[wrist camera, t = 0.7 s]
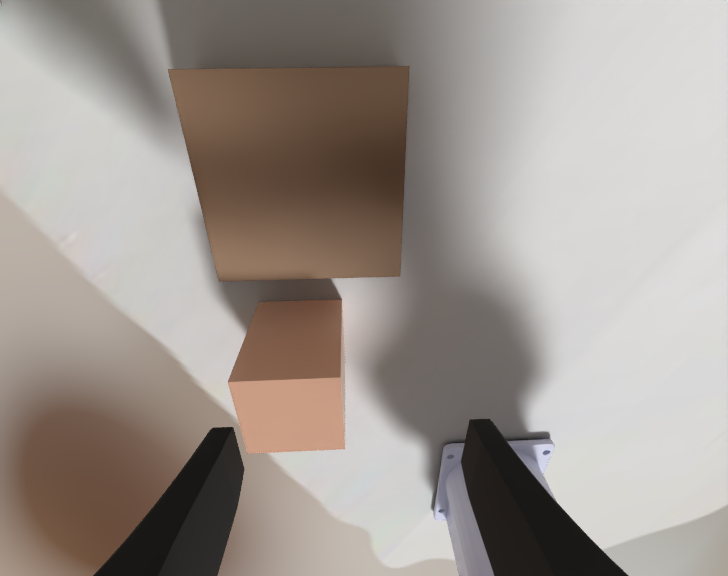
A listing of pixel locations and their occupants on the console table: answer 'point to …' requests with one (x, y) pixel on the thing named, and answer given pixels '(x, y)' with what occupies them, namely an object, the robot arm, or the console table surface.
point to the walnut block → (298, 168)
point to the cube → (292, 378)
